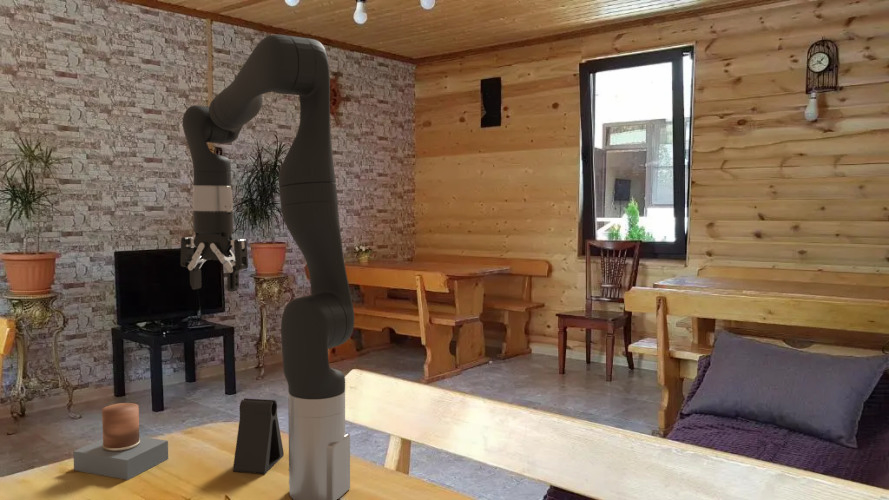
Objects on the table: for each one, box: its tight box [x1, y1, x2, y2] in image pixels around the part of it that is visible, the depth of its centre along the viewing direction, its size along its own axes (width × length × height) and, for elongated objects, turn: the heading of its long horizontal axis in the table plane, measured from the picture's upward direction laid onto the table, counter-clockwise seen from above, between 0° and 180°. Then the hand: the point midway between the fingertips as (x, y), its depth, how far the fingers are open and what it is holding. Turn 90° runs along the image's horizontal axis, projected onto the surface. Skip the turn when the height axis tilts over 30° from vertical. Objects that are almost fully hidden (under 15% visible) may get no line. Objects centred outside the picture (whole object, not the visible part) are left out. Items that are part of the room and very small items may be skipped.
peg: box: [101, 402, 140, 452], centre depth 125 cm, size 6×6×10 cm
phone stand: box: [232, 397, 285, 475], centre depth 126 cm, size 9×6×12 cm, turn 171°
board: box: [73, 435, 169, 481], centre depth 126 cm, size 12×10×4 cm
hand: (214, 289), depth 138 cm, fingers open, 8 cm apart
